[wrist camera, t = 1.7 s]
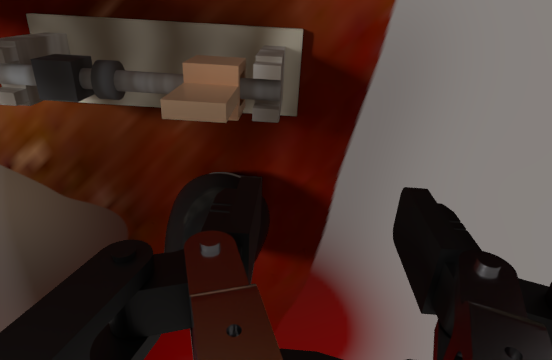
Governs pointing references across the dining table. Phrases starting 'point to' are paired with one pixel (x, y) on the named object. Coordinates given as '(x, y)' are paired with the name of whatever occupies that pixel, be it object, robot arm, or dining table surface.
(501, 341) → the robot arm
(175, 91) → the tan stepped block
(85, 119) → the dining table surface
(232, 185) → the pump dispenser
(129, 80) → the grey rail mechanism
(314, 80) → the dining table surface
